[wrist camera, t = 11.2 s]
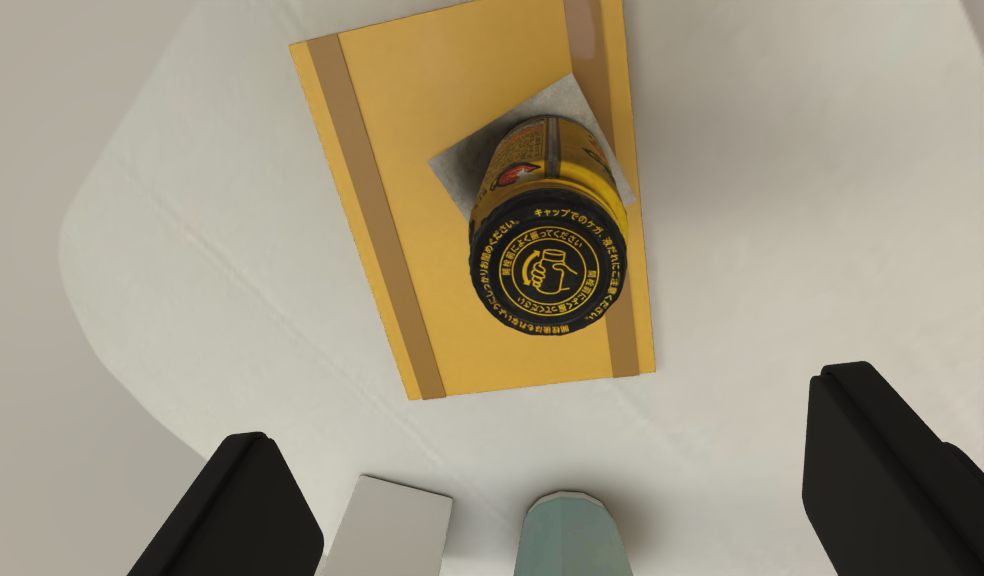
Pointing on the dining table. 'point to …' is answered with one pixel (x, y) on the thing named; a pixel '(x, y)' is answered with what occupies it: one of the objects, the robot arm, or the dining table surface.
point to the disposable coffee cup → (570, 539)
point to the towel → (427, 205)
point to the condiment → (542, 212)
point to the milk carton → (390, 532)
